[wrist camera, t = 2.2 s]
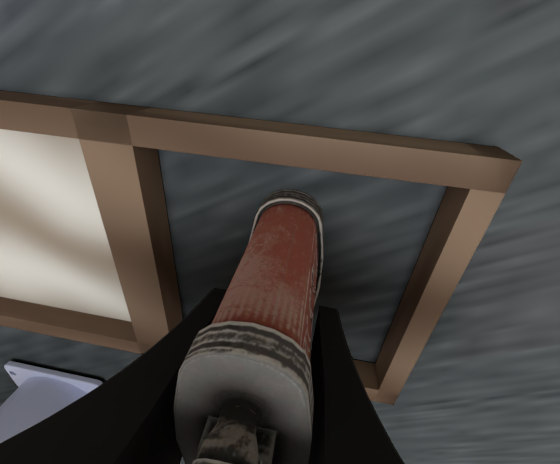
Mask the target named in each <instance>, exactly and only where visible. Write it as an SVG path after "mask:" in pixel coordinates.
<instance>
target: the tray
mask: <svg viewBox="0 0 560 464" xmlns="http://www.w3.org/2000/svg"><path fill="white" fill-rule="evenodd" d="M157 149H161V150H169V151H177V152H185V153H192V154H200V155H208V156H216V157H224V158H231V159H239V160H247V161H255V162H263V163H271V164H278V165H286V166H294V167H302V168H310V169H317V170H325V171H333V172H341V173H349V174H356V175H364V176H372V177H380V178H388V179H396V180H403V181H411V182H419V183H427V184H435V185H442V186H448V188H447V190H446V192H445V195H444V197H443V200H442V202H441V205H440V207H439V210H438V212H437V214H436V217H435V219H434V222H433V224H432V227H431V229H430V231H429V234H428V236H427V239H426V241H425V244H424V246H423V249H422V251H421V253H420V256H419V258H418V261H417V263H416V266H415V268H414V270H413V273H412V275H411V278H410V280H409V283H408V285H407V288H406V290H405V292H404V295H403V297H402V300H401V302H400V305H399V307H398V310H397V312H396V314H395V317H394V319H393V322H392V324H391V327H390V329H389V331H388V334H387V336H386V339H385V341H384V344H383V346H382V349H381V351H380V353H379V356H378V358H377V361H376V363H375V364H374V363H369V362H364V361H359V360H353V361H354V364H355V366H356V369H357V371H358V374H359V376H360V379H361V381H362V383H363V385H364V388H365V390H366V392H367V395H368V397H369V399H370V400H372V401H377V402H382V403H386V404H391V405H394V403H395V401H396V399H397V397H398V395H399V393H400V391H401V390H402V388H403V386H404V384H405V382H406V380H407V378H408V376H409V374H410V373H411V371H412V369H413V367H414V365H415V363H416V361H417V359H418V357H419V356H420V354H421V352H422V350H423V348H424V346H425V344H426V342H427V341H428V339H429V337H430V335H431V333H432V331H433V329H434V327H435V325H436V324H437V322H438V320H439V318H440V316H441V314H442V312H443V310H444V308H445V307H446V305H447V303H448V301H449V299H450V297H451V295H452V293H453V291H454V290H455V288H456V286H457V284H458V282H459V280H460V278H461V276H462V275H463V273H464V271H465V269H466V267H467V265H468V263H469V261H470V259H471V258H472V256H473V254H474V252H475V250H476V248H477V246H478V244H479V242H480V241H481V239H482V237H483V235H484V233H485V231H486V229H487V227H488V226H489V224H490V222H491V220H492V218H493V216H494V214H495V212H496V210H497V209H498V207H499V205H500V203H501V201H502V199H503V197H504V195H505V193H506V192H507V190H508V188H509V186H510V184H511V182H512V180H513V178H514V176H515V175H516V173H517V171H518V169H519V167H520V165H521V163H522V161H521V160H520V159H518V158H516V157H515V156H513V155H511V154H509V153H508V152H506V151H504V150H502V149H501V148H499V147H495V146H486V145H477V144H468V143H460V142H451V141H442V140H433V139H424V138H416V137H407V136H398V135H389V134H380V133H371V132H363V131H354V130H345V129H336V128H327V127H318V126H310V125H301V124H292V123H283V122H274V121H265V120H257V119H248V118H239V117H230V116H221V115H213V114H204V113H195V112H186V111H177V110H168V109H160V108H151V107H142V106H133V105H124V104H115V103H107V102H98V101H89V100H80V99H71V98H62V97H54V96H45V95H36V94H27V93H18V92H9V91H1V90H0V325H1V326H6V327H11V328H16V329H21V330H26V331H31V332H36V333H41V334H46V335H51V336H56V337H61V338H66V339H71V340H75V341H80V342H85V343H90V344H95V345H100V346H105V347H110V348H115V349H120V350H125V351H130V352H135V353H140V354H144V353H145V352H146V351H148V350H149V349H150V348H151V347H152V346H154V345H155V344H156V343H157V342H158V341H159V340H161V339H162V338H163V337H164V336H165V335H166V334H168V333H169V332H170V331H171V330H172V329H173V328H174V327H175V326H176V325H177V324H178V323H180V322H181V321H182V320H183V317H182V310H181V303H180V297H179V290H178V283H177V277H176V270H175V263H174V257H173V250H172V243H171V237H170V230H169V223H168V217H167V210H166V203H165V197H164V190H163V183H162V177H161V170H160V163H159V157H158V150H157ZM310 358H311V351H310ZM310 358H309V361H310Z"/></svg>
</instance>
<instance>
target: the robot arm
mask: <svg viewBox="0 0 560 464" xmlns="http://www.w3.org/2000/svg"><path fill="white" fill-rule="evenodd" d="M226 291H227V290H224V289H218V288H214V289H213V290H211V292H210V293H209V294H208V295H207V296H206V297H205V298H204V299H203V300H202V301H201V302H200V303H199V304H198V305H197V306H196V307H195V308H194V309H193V310H192V311H191V312H190V313H189V314H188V315H187V316H186V317H185V318H184V319H183V320H182V321H181V322H180V323H178V324H177V325H176V326H175V327H174V328H173V329H172V330H171V331H170V332H169V333H168V334H166V335H165V336H164V337H163V338H162V339H161V340H159V341H158V342H157V343H156V344H155V345H154V346H152V347H151V348H150V349H149V350H148V351H146V352H145V353H144V354H143V355H141V356H140V357H139V358H137V359H136V360H135V361H133V362H132V363H131V364H129V365H128V366H127V367H125V368H124V369H123V370H121V371H120V372H119V373H117V374H116V375H114V376H113V377H111V378H110V379H108V380H107V381H105V382H104V383H103V382H102V381H100V380H97V379H93V378H88V377H83V376H79V375H74V374H69V373H65V372H60V371H56V370H51V369H46V368H42V367H37V366H32V365H28V364H23V363H18V362H14V361H9V362H8V363H6V364H5V366H4V368H5V369H6V371H7V372H8V373H9V375H10V376H11V378H12V379H13V380H14V382H15V383H16V385H17V386H18V388H17V389H16V391H15V392H14V393H13V394H12V395H11V396H10V397H9V398H8V399H7V400H6V401H5V402H4V403H3V404H2V405H1V406H0V464H180V461H181V458H182V453H181V451H180V448H179V445H178V442H177V440H176V430H175V419H174V401H175V394H176V387H177V380H178V373H179V370H180V368H181V366H182V363H183V361H184V359H185V357H186V355H187V353H188V351H189V349H190V347H191V345H192V343H193V341H194V339H195V338H196V336H197V334H198V333H199V331H200V330H202V329H204V328H206V327H207V326H209V325H211V324H212V322H213V319H214V317H215V315H216V313H217V311H218V309H219V306H220V304H221V302H222V300H223V298H224V296H225V293H226ZM310 364H311V376H312V387H313V399H314V411H313V426H312V440H311V447H310V454H309V461H308V464H404V462H403V460H402V459H401V457H400V455H399V454H398V452H397V450H396V449H395V447H394V445H393V443H392V442H391V440H390V438H389V436H388V434H387V432H386V431H385V429H384V427H383V425H382V423H381V421H380V419H379V417H378V415H377V413H376V411H375V409H374V407H373V405H372V403H371V401H370V399H369V397H368V395H367V392H366V390H365V388H364V385H363V383H362V381H361V379H360V376H359V374H358V371H357V369H356V366H355V364H354V361H353V358H352V356H351V353H350V350H349V347H348V345H347V341H346V338H345V335H344V332H343V328H342V325H341V321H340V316H339V312H338V310H337V309H333V308H328V307H322V306H320V307H319V312H318V317H317V321H316V326H315V331H314V336H313V341H312V349H311V358H310Z"/></svg>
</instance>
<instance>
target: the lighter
mask: <svg viewBox="0 0 560 464" xmlns="http://www.w3.org/2000/svg"><path fill="white" fill-rule="evenodd" d="M323 254H324V235H323V214H322V211H321V207H320V206H319V204H318V203H317V202H316V201H315V199H313V198H312V197H310V196H309V195H307V194H306V193H303V192H300V191H296V190H280V191H277V192H273V193H271V194H270V195H269V196H267V197H266V198H265V199H264V201H263V202H262V204H261V206H260V208H259V210H258V212H257V214H256V217H255V220H254V224H253V228H252V232H251V235H250V239H249V243H248V246H247V248H246V250H245V252H244V254H243V257H242V259H241V261H240V263H239V265H238V267H237V270H236V272H235V274H234V276H233V278H232V280H231V283H230V285H229V287H228V289H227V291H226V293H225V296H224V298H223V300H222V302H221V304H220V306H219V309H218V311H217V313H216V315H215V317H214V319H213V322H212V324H211V325H209V326H207V327H206V328H204V329H202V330H200V331H199V333H198V334H197V336H196V338H195V339H194V341H193V343H192V345H191V347H190V349H189V351H188V353H187V355H186V357H185V359H184V361H183V363H182V366H181V368H180V370H179V373H178V380H177V387H176V394H175V401H174V419H175V430H176V440H177V442H178V445H179V448H180V451H181V453H182V456H183V459H184V461H185V464H308V461H309V454H310V447H311V440H312V426H313V411H314V399H313V387H312V376H311V364H310V361H309V358H310V347H311V335H312V324H313V313H314V306H315V303H316V299H317V296H318V293H319V289H320V283H321V274H322V265H323Z"/></svg>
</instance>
